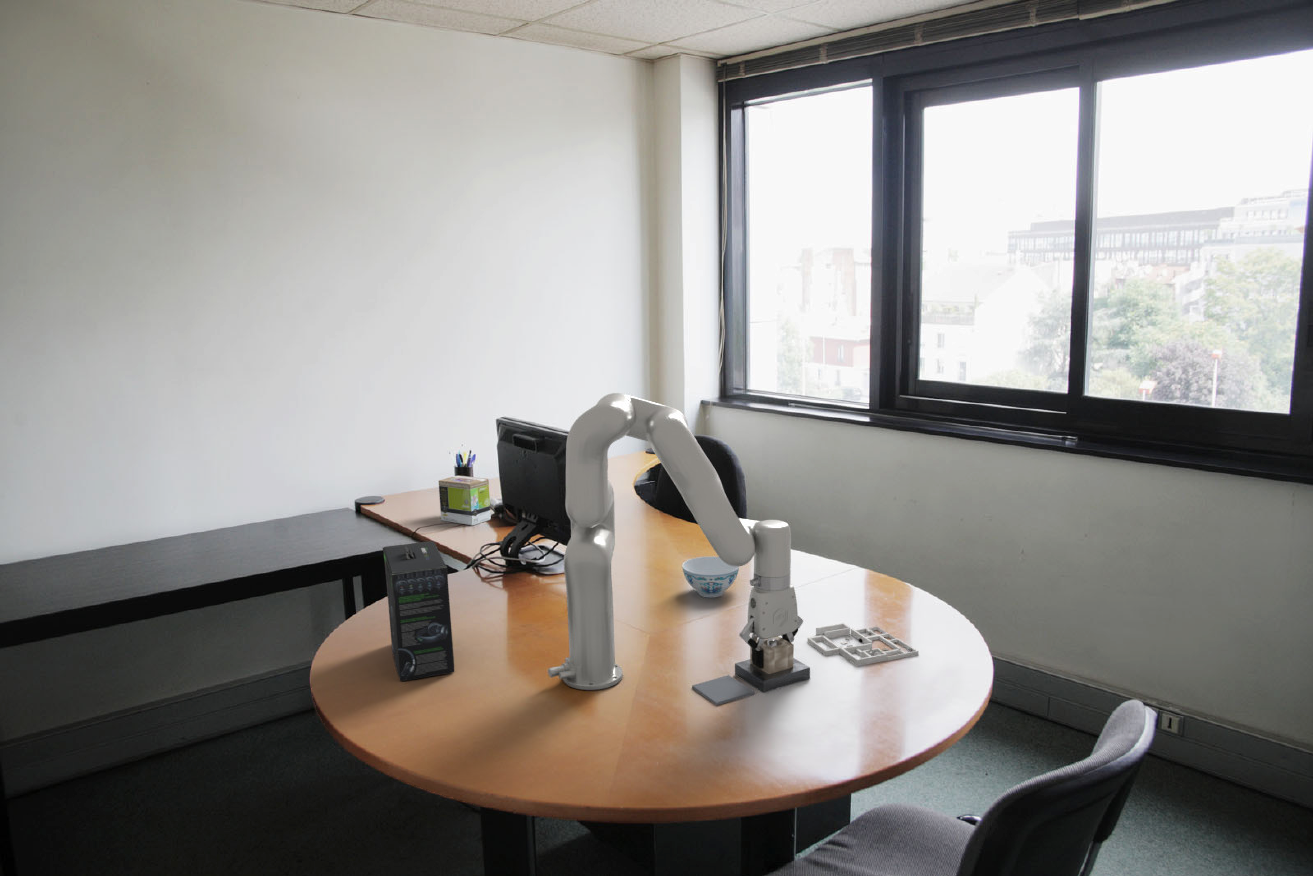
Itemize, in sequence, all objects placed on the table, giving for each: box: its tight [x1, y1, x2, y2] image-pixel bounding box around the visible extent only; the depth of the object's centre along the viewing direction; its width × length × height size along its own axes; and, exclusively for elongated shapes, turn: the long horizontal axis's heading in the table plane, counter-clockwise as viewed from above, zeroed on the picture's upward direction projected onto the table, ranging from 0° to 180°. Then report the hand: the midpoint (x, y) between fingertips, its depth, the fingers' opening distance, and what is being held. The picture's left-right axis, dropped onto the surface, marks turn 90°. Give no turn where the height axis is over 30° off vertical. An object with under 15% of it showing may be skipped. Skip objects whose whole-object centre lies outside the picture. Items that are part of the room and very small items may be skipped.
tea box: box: [438, 475, 492, 526], centre depth 317 cm, size 15×10×15 cm, turn 58°
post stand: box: [734, 638, 811, 694], centre depth 191 cm, size 12×10×8 cm
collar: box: [749, 636, 795, 674], centre depth 190 cm, size 6×6×5 cm
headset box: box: [382, 540, 455, 682], centre depth 202 cm, size 22×12×26 cm, turn 21°
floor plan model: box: [807, 622, 919, 667], centre depth 205 cm, size 19×25×2 cm
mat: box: [691, 674, 755, 706], centre depth 185 cm, size 9×9×1 cm
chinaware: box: [681, 555, 740, 598], centre depth 241 cm, size 15×15×8 cm
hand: (771, 661), depth 191 cm, fingers closed on collar, 6 cm apart
